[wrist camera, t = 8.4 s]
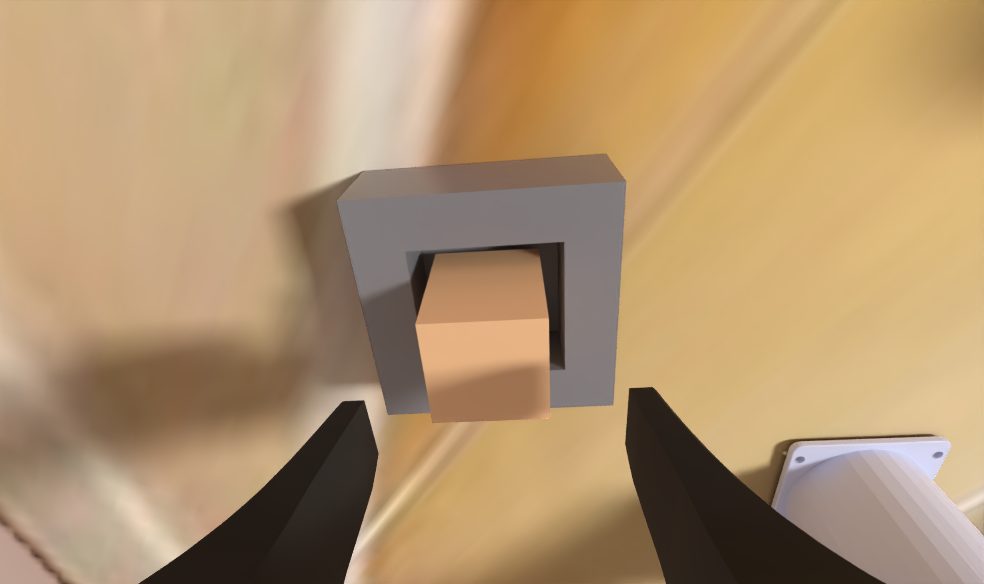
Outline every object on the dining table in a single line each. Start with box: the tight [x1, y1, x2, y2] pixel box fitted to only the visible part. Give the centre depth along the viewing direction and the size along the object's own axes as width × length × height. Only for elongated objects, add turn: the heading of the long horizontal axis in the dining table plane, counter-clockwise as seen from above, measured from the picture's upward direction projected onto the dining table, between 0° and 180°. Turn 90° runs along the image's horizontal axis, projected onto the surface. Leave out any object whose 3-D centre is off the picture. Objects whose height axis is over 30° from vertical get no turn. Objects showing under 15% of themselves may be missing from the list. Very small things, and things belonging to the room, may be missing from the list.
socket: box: [336, 154, 626, 415], centre depth 20 cm, size 10×10×4 cm
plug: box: [415, 248, 550, 423], centre depth 18 cm, size 4×4×6 cm
